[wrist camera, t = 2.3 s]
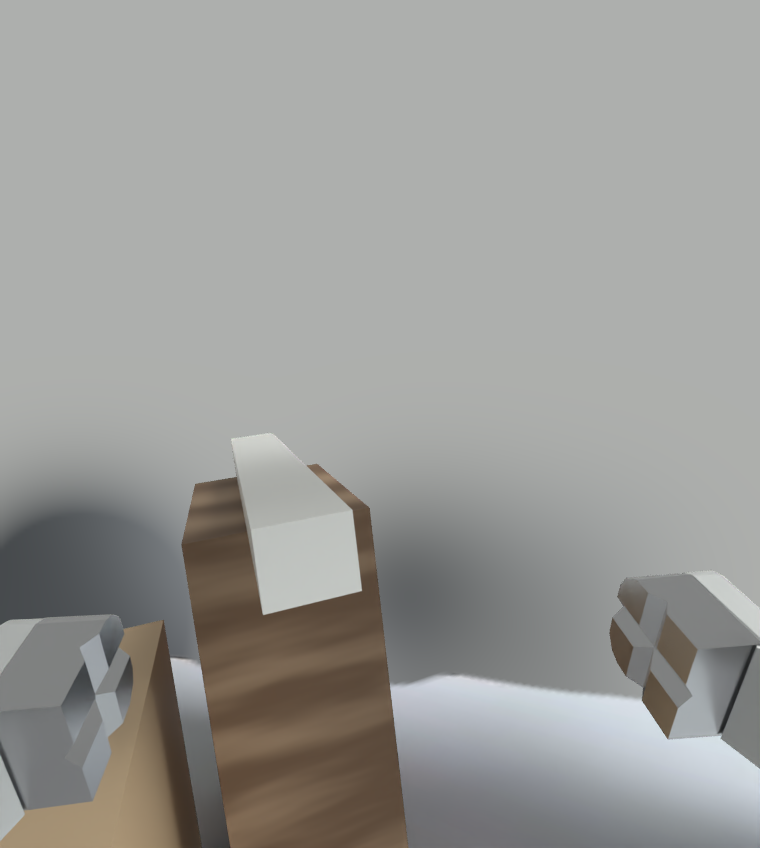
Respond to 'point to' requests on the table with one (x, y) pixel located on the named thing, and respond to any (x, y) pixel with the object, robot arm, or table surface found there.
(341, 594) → the bar
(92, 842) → the carton
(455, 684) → the table surface
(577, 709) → the table surface
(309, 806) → the pedestal
